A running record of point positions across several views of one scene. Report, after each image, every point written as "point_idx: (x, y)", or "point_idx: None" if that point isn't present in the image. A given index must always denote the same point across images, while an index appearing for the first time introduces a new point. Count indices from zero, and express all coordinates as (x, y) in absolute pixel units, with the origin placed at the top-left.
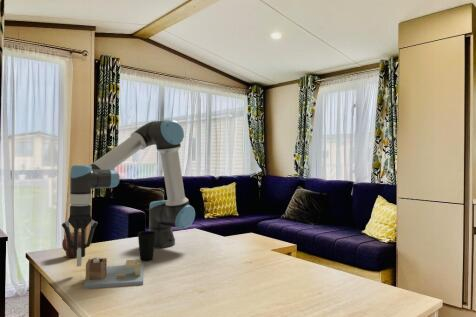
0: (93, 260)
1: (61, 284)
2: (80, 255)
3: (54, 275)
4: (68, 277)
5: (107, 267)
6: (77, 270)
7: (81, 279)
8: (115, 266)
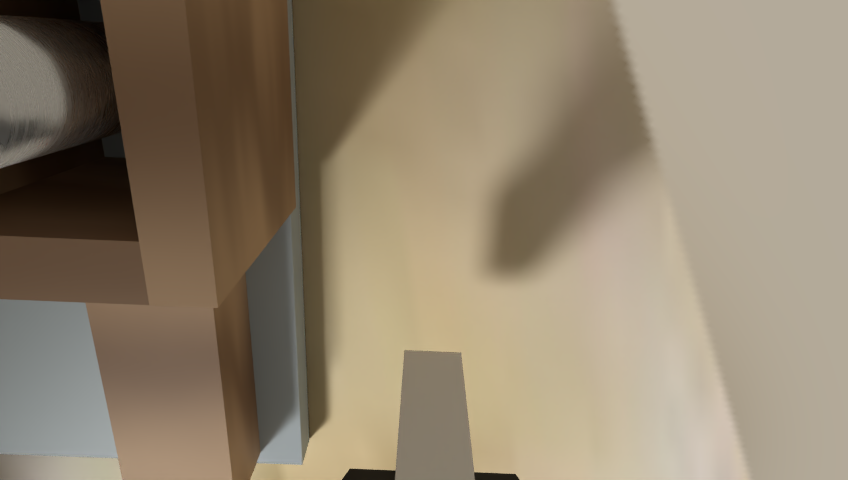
0: (10, 48)
1: (601, 27)
2: (405, 477)
3: (684, 371)
4: (537, 272)
5: None
6: None
7: (381, 162)
8: (43, 434)
